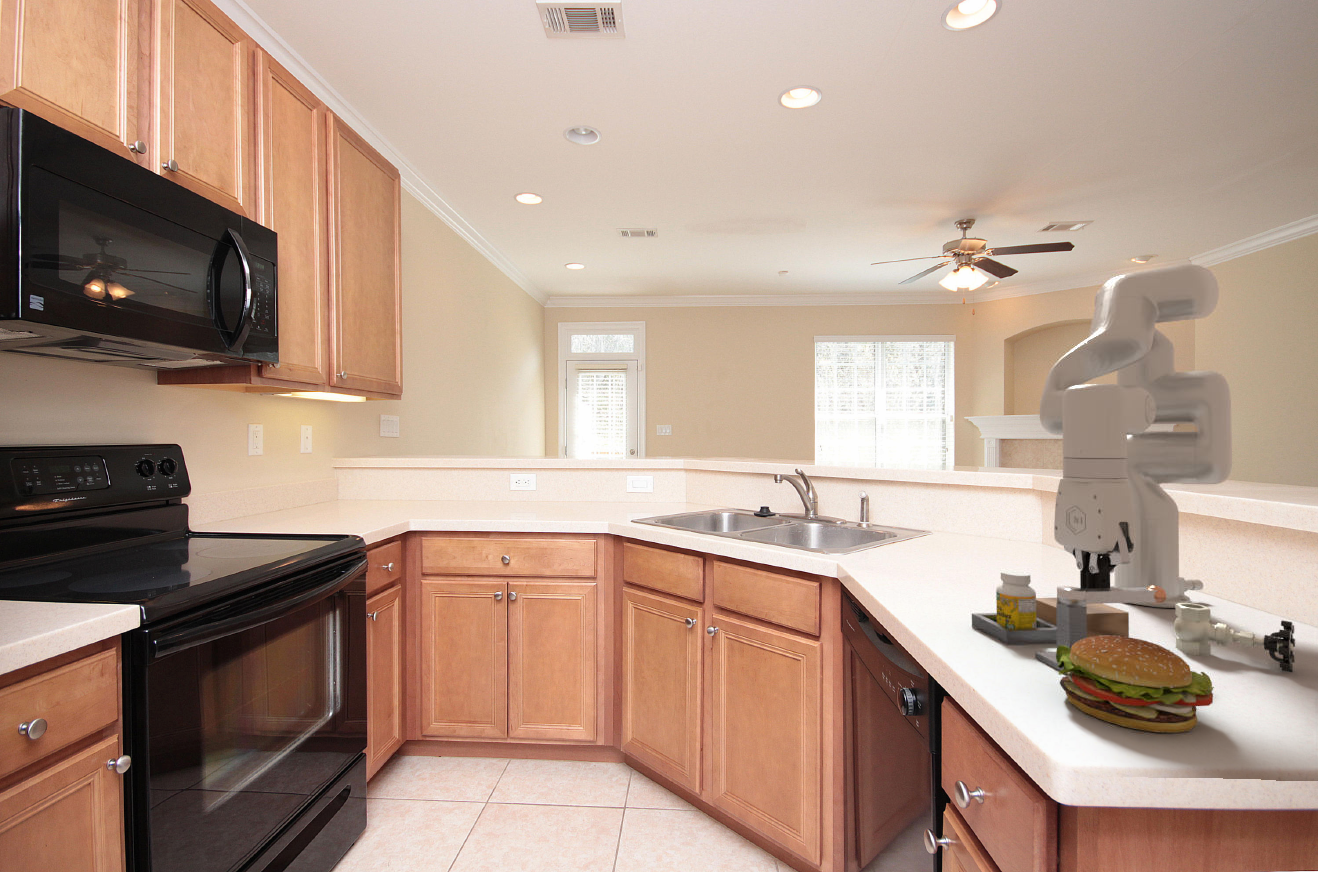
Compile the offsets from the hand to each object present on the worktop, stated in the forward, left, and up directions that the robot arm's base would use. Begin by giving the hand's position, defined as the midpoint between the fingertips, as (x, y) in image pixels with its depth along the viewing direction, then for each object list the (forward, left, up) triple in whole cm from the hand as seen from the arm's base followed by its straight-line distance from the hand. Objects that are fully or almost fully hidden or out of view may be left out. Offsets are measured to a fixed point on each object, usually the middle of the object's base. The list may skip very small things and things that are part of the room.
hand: (1095, 598), depth 86 cm
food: (+10, +17, -8) cm, 22 cm away
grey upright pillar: (+7, +4, -8) cm, 11 cm away
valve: (-17, +4, -8) cm, 19 cm away
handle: (+1, +4, 0) cm, 5 cm away
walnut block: (-5, -10, -8) cm, 13 cm away
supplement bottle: (+6, -9, -8) cm, 13 cm away
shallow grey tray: (+6, -9, -8) cm, 13 cm away
